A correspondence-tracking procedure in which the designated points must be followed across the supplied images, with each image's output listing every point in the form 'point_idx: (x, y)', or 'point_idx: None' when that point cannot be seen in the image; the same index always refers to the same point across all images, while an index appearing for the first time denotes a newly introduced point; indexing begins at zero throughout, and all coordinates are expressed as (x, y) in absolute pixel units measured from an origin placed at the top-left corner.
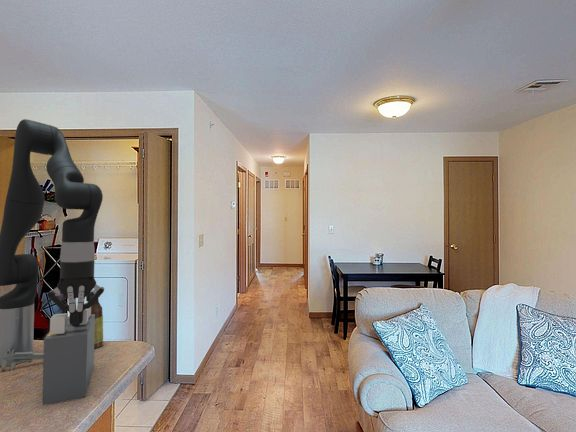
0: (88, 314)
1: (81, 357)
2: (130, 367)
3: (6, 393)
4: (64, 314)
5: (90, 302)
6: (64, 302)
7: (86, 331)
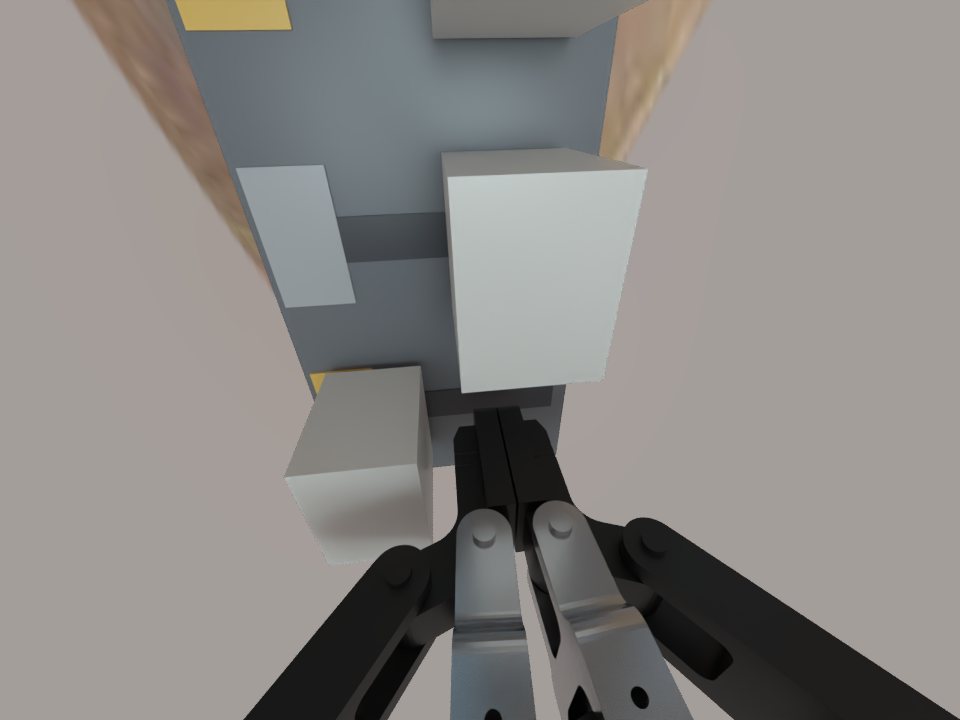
0: (586, 28)
1: None
2: (668, 72)
3: (192, 164)
4: (402, 495)
5: (672, 640)
6: (388, 650)
7: (550, 416)
